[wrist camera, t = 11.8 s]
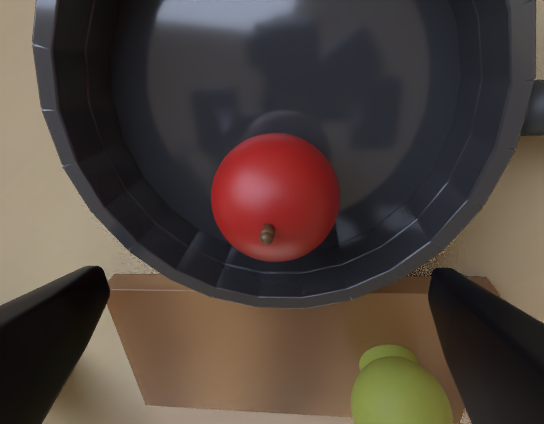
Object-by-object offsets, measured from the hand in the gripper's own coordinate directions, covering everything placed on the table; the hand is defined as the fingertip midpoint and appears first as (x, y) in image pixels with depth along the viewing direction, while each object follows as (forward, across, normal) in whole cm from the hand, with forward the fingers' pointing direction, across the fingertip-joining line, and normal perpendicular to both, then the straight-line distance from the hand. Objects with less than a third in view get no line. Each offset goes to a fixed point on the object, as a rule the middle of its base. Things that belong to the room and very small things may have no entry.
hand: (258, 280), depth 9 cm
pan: (+8, 0, -3) cm, 9 cm away
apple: (+8, 0, 0) cm, 8 cm away
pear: (+7, -6, +12) cm, 15 cm away
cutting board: (+8, 0, +12) cm, 14 cm away
